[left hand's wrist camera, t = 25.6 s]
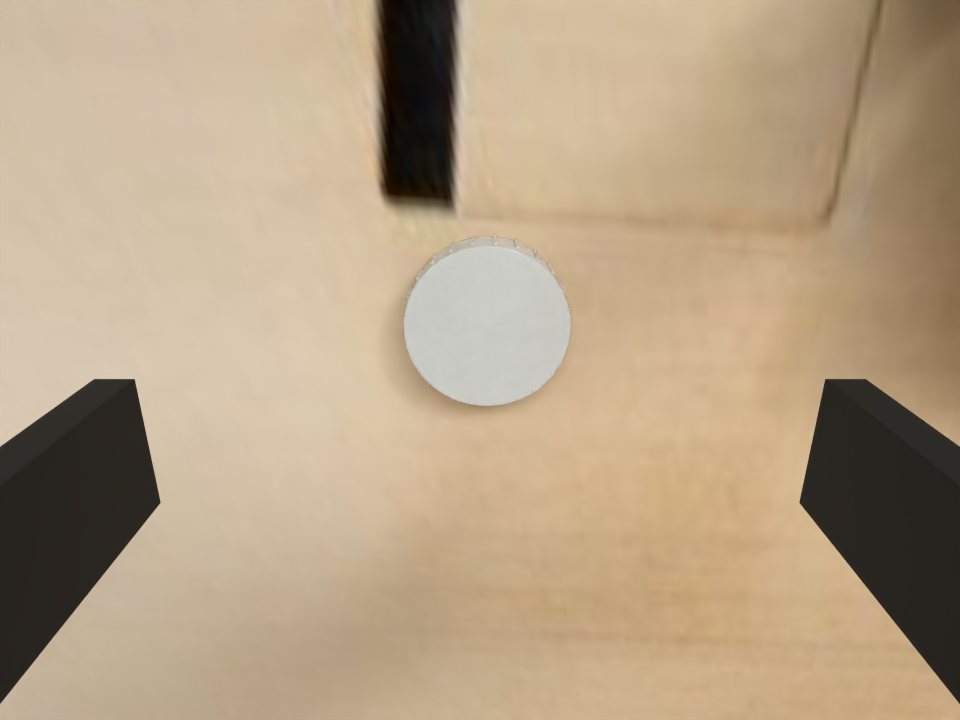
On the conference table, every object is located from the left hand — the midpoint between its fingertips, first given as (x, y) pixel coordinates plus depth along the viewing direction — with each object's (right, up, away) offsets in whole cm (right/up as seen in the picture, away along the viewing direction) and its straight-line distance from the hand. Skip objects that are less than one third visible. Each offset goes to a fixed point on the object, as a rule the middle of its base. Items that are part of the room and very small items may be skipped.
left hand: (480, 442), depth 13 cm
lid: (0, +3, +10) cm, 10 cm away
